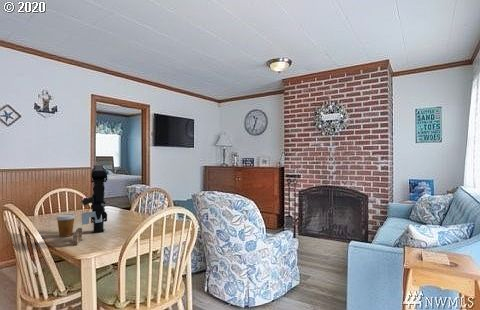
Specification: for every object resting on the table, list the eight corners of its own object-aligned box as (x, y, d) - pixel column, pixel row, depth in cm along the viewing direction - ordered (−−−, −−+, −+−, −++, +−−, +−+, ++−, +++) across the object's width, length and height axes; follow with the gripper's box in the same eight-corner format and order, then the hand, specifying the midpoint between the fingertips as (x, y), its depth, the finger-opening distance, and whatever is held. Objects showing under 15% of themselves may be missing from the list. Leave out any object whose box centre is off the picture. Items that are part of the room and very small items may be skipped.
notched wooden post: (78, 238, 164) (78, 228, 164) (81, 238, 165) (82, 227, 165) (72, 245, 151) (72, 234, 151) (76, 245, 152) (77, 234, 152)
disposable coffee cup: (78, 233, 175) (78, 213, 175) (69, 237, 165) (69, 217, 165) (62, 233, 175) (62, 213, 175) (52, 237, 165) (52, 217, 165)
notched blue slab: (82, 223, 163) (81, 213, 163) (102, 221, 166) (101, 210, 166) (82, 224, 160) (81, 214, 160) (101, 222, 164) (101, 211, 164)
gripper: (85, 190, 170) (85, 216, 170) (80, 194, 153) (80, 223, 153) (105, 189, 174) (105, 215, 174) (103, 193, 157) (103, 222, 157)
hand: (98, 219), depth 165 cm, fingers closed on notched blue slab, 2 cm apart
